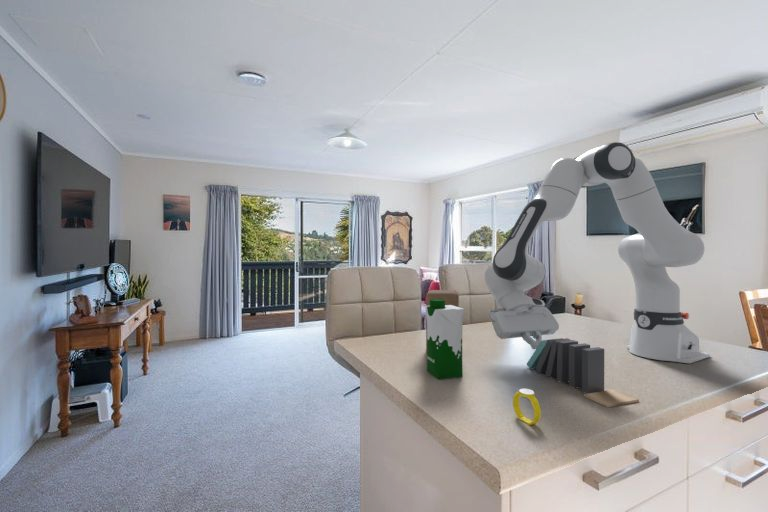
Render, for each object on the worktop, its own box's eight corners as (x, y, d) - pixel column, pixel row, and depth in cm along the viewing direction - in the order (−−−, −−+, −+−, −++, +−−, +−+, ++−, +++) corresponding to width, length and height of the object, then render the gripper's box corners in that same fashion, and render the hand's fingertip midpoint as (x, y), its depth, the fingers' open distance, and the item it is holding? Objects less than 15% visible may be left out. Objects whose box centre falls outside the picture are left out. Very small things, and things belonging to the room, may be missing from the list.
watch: (543, 428, 67) (545, 397, 66) (531, 431, 66) (533, 399, 65) (520, 412, 72) (521, 384, 72) (509, 414, 71) (510, 386, 71)
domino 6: (581, 391, 83) (582, 349, 83) (598, 389, 85) (598, 347, 85) (587, 394, 82) (588, 350, 82) (604, 391, 84) (604, 348, 83)
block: (458, 358, 110) (458, 293, 110) (425, 356, 112) (425, 292, 112) (458, 349, 119) (458, 290, 119) (428, 348, 121) (428, 289, 121)
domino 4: (556, 380, 91) (557, 341, 90) (571, 378, 92) (573, 339, 92) (561, 382, 89) (562, 343, 89) (577, 380, 91) (578, 341, 90)
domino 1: (526, 364, 101) (541, 340, 95) (540, 362, 103) (556, 339, 97) (529, 368, 100) (545, 345, 94) (544, 367, 101) (560, 343, 96)
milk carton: (422, 370, 99) (422, 298, 98) (452, 367, 101) (452, 296, 101) (436, 381, 90) (436, 302, 90) (468, 377, 93) (468, 300, 93)
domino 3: (545, 374, 94) (552, 339, 92) (560, 372, 96) (568, 338, 93) (550, 377, 93) (557, 342, 90) (565, 375, 94) (572, 341, 92)
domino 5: (568, 385, 87) (568, 345, 87) (584, 383, 89) (584, 343, 89) (574, 388, 86) (574, 346, 85) (590, 385, 87) (590, 344, 87)
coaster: (613, 391, 83) (613, 389, 83) (638, 401, 78) (638, 399, 78) (583, 396, 81) (583, 394, 81) (608, 407, 75) (608, 404, 75)
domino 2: (535, 368, 98) (547, 339, 93) (550, 367, 99) (562, 338, 95) (539, 373, 96) (551, 343, 92) (554, 371, 98) (567, 342, 94)
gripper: (490, 303, 104) (513, 345, 95) (547, 300, 110) (573, 338, 101) (482, 316, 108) (502, 357, 99) (536, 312, 114) (560, 350, 105)
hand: (538, 347), depth 100 cm, fingers closed
